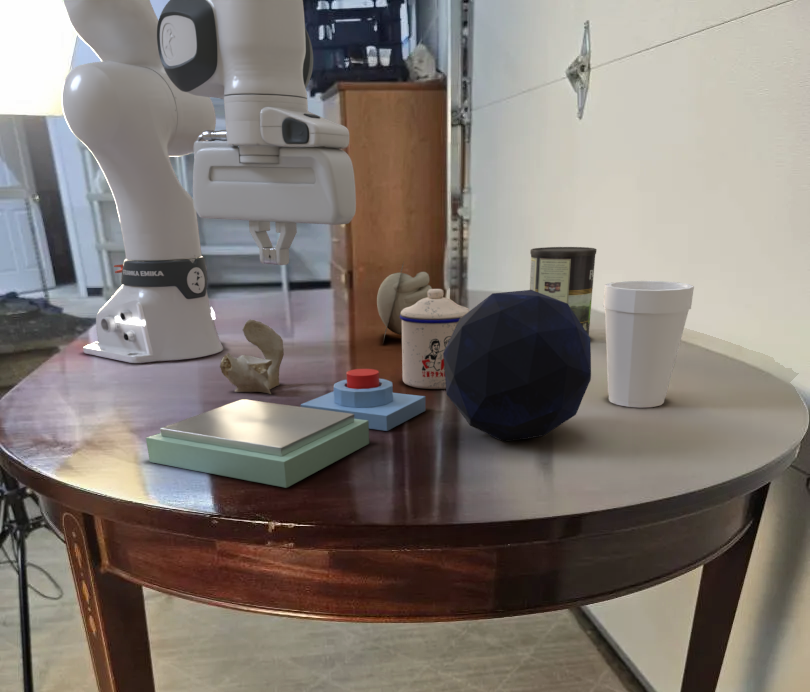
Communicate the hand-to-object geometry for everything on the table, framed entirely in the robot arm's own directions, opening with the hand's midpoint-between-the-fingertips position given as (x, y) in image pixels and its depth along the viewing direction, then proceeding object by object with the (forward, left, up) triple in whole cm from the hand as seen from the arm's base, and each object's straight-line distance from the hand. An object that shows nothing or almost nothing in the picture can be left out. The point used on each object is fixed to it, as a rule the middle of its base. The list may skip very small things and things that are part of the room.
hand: (274, 264), depth 89 cm
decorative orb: (+31, -3, -16) cm, 35 cm away
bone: (-5, +1, -16) cm, 16 cm away
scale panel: (+13, -3, -16) cm, 21 cm away
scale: (+11, -19, -16) cm, 27 cm away
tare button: (+13, -3, -12) cm, 19 cm away
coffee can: (+18, +51, -16) cm, 56 cm away
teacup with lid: (+14, +16, -16) cm, 26 cm away
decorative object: (-5, +41, -16) cm, 44 cm away
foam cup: (+39, +16, -16) cm, 45 cm away
